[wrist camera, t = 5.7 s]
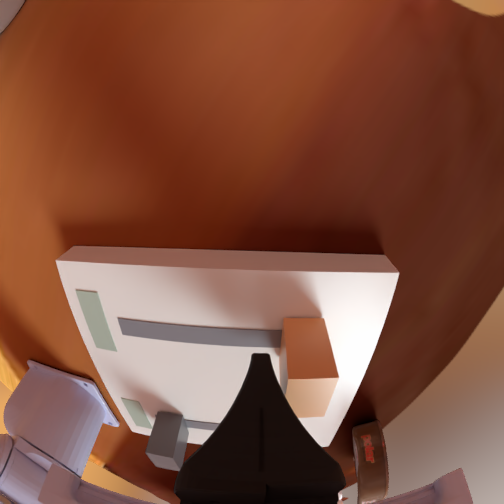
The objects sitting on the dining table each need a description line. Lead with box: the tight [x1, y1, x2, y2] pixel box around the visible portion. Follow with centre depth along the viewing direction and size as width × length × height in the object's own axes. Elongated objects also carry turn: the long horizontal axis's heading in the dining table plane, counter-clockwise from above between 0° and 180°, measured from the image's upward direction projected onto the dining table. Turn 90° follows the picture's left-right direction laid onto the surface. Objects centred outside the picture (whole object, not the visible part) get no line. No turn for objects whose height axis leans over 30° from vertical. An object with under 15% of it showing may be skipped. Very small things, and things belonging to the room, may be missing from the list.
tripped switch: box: [279, 318, 339, 418], centre depth 12 cm, size 2×3×4 cm, turn 179°
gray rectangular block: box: [145, 411, 189, 471], centre depth 17 cm, size 2×3×4 cm, turn 179°
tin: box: [352, 420, 389, 504], centre depth 19 cm, size 15×3×8 cm, turn 18°
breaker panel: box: [56, 246, 399, 447], centre depth 17 cm, size 18×18×2 cm
